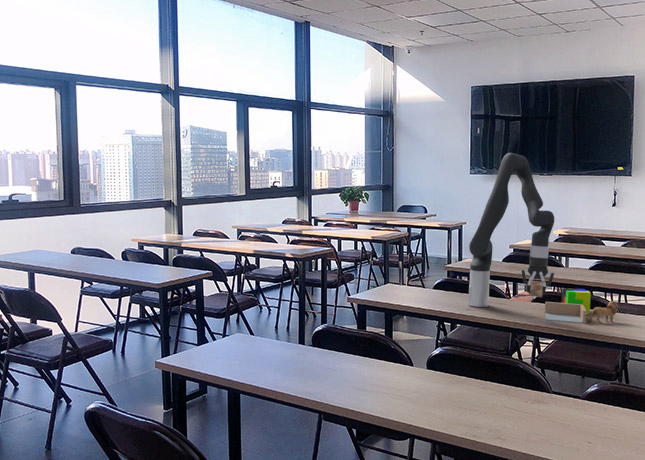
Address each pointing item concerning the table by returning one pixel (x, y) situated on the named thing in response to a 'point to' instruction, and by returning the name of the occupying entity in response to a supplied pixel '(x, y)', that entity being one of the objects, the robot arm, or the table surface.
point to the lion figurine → (605, 312)
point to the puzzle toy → (577, 297)
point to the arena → (565, 312)
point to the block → (536, 289)
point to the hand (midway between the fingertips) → (536, 294)
